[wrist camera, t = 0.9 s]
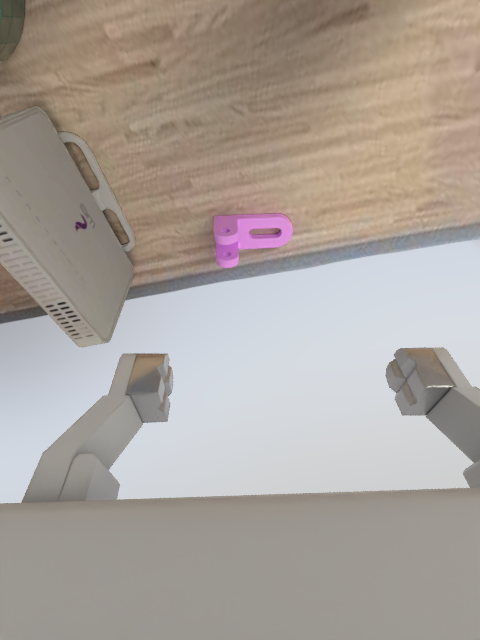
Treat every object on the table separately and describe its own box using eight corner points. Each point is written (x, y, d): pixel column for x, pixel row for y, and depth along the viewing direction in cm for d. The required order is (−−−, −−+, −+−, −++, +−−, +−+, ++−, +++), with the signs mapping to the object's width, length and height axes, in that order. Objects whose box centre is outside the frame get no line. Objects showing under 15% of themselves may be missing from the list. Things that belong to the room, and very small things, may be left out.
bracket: (217, 245, 53) (216, 268, 48) (214, 215, 50) (213, 237, 45) (289, 242, 54) (296, 265, 49) (292, 212, 50) (300, 233, 45)
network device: (149, 263, 55) (122, 344, 41) (105, 272, 57) (65, 355, 42) (63, 96, 38) (-35, 138, 24) (2, 114, 39) (-126, 165, 25)
